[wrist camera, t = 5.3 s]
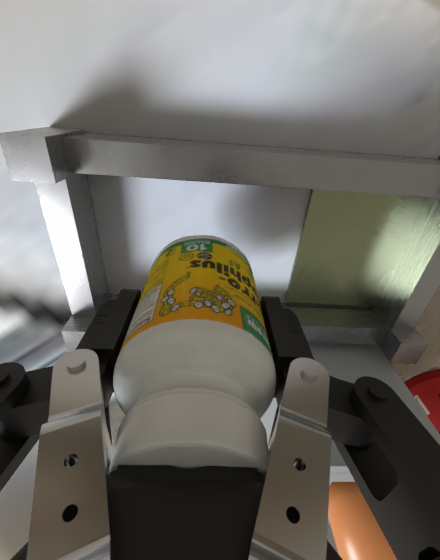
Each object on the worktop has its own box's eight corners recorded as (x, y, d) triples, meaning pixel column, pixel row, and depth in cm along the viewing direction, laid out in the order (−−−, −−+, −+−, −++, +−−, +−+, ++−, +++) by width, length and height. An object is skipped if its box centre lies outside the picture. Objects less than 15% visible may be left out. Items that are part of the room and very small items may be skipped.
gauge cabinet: (257, 390, 26) (278, 525, 18) (272, 327, 22) (308, 466, 14) (341, 392, 27) (400, 524, 18) (371, 331, 22) (466, 467, 14)
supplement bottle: (134, 286, 15) (39, 497, 7) (188, 209, 13) (141, 388, 5) (214, 329, 17) (212, 538, 9) (273, 268, 15) (347, 473, 6)
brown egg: (303, 459, 19) (339, 599, 14) (318, 428, 17) (367, 579, 12) (358, 460, 20) (414, 598, 14) (379, 429, 17) (455, 578, 12)
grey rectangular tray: (91, 312, 21) (68, 352, 17) (48, 126, 14) (-3, 133, 11) (384, 323, 22) (415, 363, 19) (470, 158, 15) (541, 173, 12)
